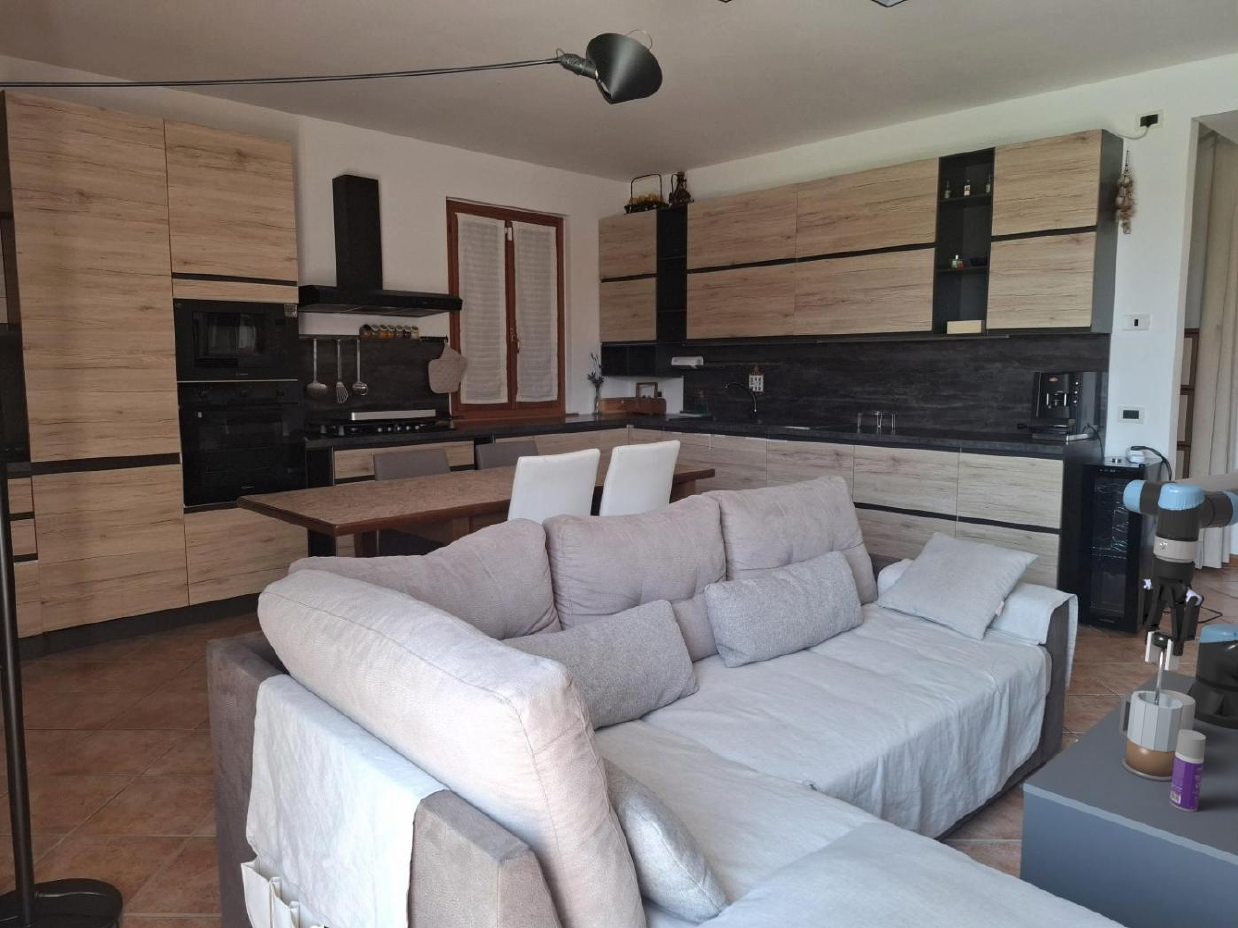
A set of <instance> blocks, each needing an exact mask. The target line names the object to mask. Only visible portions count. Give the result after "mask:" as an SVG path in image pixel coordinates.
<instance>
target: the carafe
mask: <svg viewBox="0 0 1238 928" xmlns="http://www.w3.org/2000/svg"><path fill="white" fill-rule="evenodd" d="M1155 695H1156V692H1153V691H1151V690H1136V691H1133V692H1132V694H1130V693H1124V694H1122V698H1121V705H1120V706H1121V707H1120V714H1119V715H1120V716H1119V725H1118V734H1119V735H1122V736H1124V737H1125V738H1127V741H1126V748H1125V750H1126V751H1125V756H1123V757H1122V759H1121V760H1122V761H1121V765H1122V767H1123V768H1124V769H1125V770H1126V771H1128V772H1129V773H1131V774H1133V775H1134V776H1137V777H1139V778H1142V779H1146V780H1149V781H1154V782H1162V783H1165V782H1166V783H1167V782H1172V776H1173V767H1174V759H1175V752H1176V746H1177V739H1178V733H1179V730H1180V727H1181V718H1182V710H1183V704H1182V703H1181V702H1180V701H1179V700H1178V699H1176V698H1174V697H1171V696H1169V695H1166V694H1162V693H1160V699H1159V706H1158V705H1154V703H1155Z"/></svg>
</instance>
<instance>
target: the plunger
mask: <svg viewBox="0 0 1238 928" xmlns="http://www.w3.org/2000/svg"><path fill="white" fill-rule="evenodd" d="M1157 631H1158V632H1154V635H1153V643H1152V644H1153V645H1154V646H1157V647H1160V648H1159V649H1160V651H1159V660H1158V671H1157V679H1156V688H1155V690H1156V695H1155V703H1154V705H1158V706H1159V699H1160V691H1161V690H1162V682H1163V680H1162V679H1163V674H1164V667H1165V665H1164V664H1165V658H1166V650H1167V646H1168V639H1170V638H1172V632H1166V631H1160V630H1157Z"/></svg>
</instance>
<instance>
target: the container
mask: <svg viewBox="0 0 1238 928" xmlns="http://www.w3.org/2000/svg"><path fill="white" fill-rule="evenodd" d="M1206 741H1207V738H1206V735H1204V733H1201V732H1199V731H1196V730H1193V729H1192V730H1186V729H1183V730H1179V733H1178V739H1177V746H1176V752H1175V759H1174V767H1173V776H1172V781H1171V786H1170V791H1169V792H1170V794H1169V804H1170V805H1171V806H1173V807H1174V808H1176V809H1178V810H1181V811H1184V812H1189V813H1190V812H1191V813H1193V812H1196V811H1198V808H1199V799H1200V792H1201V785H1202V779H1203V770H1204V763H1205V760H1204V759H1205V753H1206V752H1205V751H1206V750H1205V749H1206Z"/></svg>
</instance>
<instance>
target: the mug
mask: <svg viewBox="0 0 1238 928" xmlns="http://www.w3.org/2000/svg"><path fill="white" fill-rule="evenodd" d="M1152 692H1156V689H1155V690H1154V691H1152ZM1160 693H1162V694H1166V695H1169V696H1171V697H1174V698H1176V699H1178V700H1179V701H1180V702H1181V703H1182V704H1183V710H1182V718H1181V727H1180V730H1183V729H1186V730H1192V731H1193V727H1194V718H1195V717H1194V713H1195V705H1196V702H1195V700H1194V699H1193V698H1192V697H1190V696H1188V695H1187V693H1186V694H1185V693H1184V692H1183V693H1182V692H1179V691H1175V690H1170V689H1161V691H1160Z"/></svg>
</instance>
